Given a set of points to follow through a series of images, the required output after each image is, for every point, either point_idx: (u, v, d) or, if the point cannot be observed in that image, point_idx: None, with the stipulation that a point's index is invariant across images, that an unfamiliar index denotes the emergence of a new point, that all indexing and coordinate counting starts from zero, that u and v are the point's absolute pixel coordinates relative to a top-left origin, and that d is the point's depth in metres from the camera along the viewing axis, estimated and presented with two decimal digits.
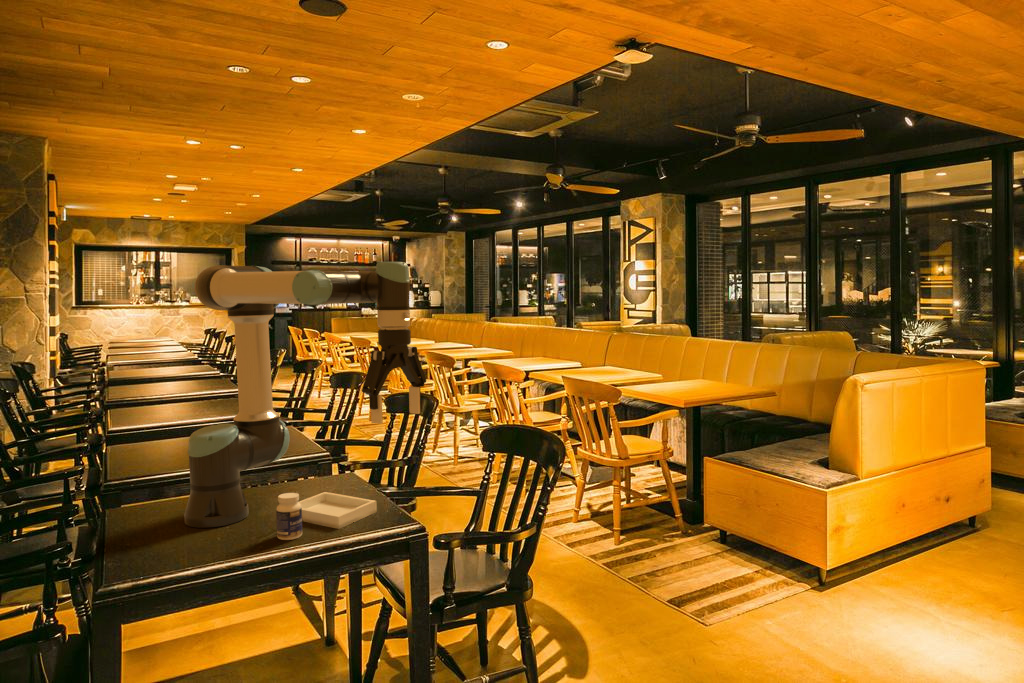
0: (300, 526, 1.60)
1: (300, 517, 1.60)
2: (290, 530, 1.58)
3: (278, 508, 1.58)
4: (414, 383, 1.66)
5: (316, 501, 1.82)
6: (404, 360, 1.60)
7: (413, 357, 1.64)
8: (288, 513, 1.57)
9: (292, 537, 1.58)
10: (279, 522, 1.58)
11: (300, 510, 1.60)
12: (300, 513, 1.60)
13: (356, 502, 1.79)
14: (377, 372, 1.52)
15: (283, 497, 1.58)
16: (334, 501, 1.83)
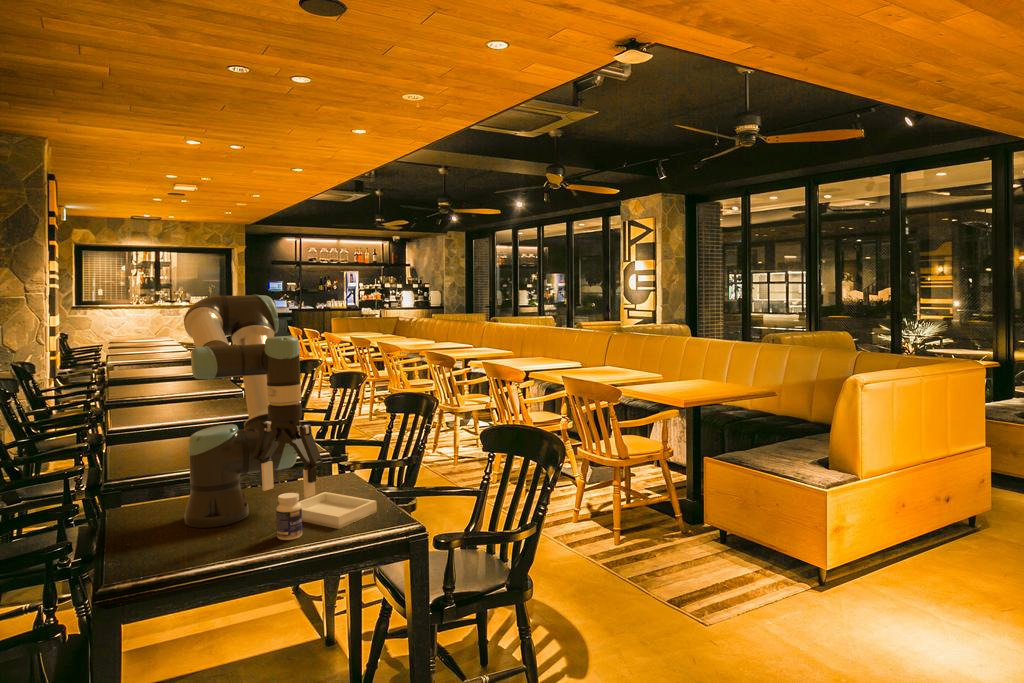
0: (300, 526, 1.60)
1: (300, 517, 1.60)
2: (290, 530, 1.58)
3: (278, 508, 1.58)
4: None
5: (316, 501, 1.82)
6: None
7: None
8: (288, 513, 1.57)
9: (292, 537, 1.58)
10: (279, 522, 1.58)
11: (300, 510, 1.60)
12: (300, 513, 1.60)
13: (356, 502, 1.79)
14: (259, 441, 1.61)
15: (283, 497, 1.58)
16: (334, 501, 1.83)
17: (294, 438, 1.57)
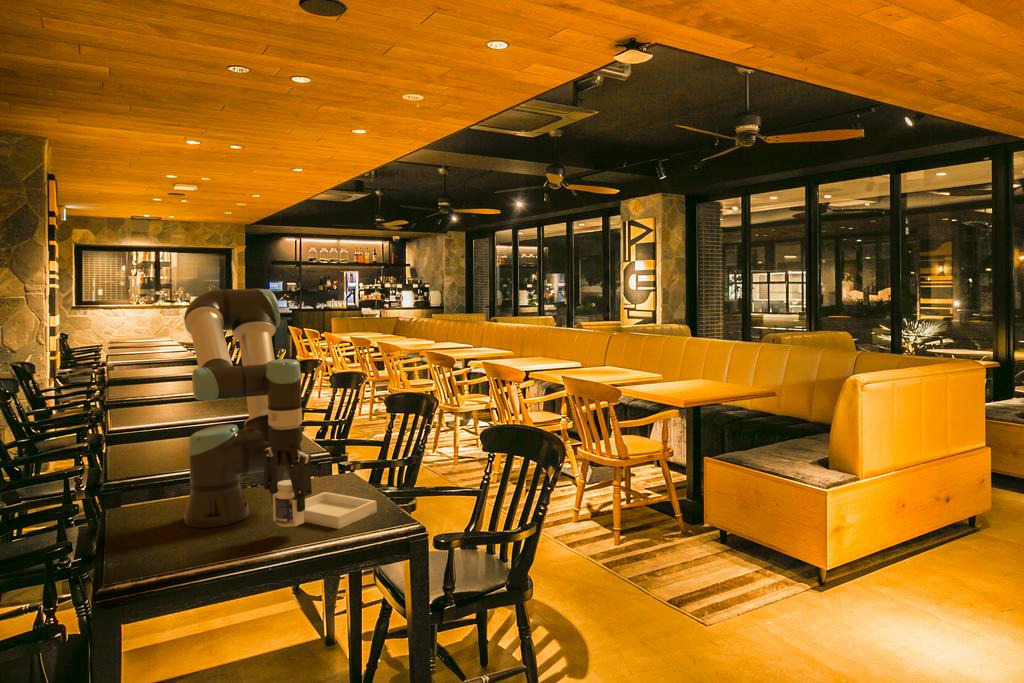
0: None
1: None
2: (289, 517, 1.58)
3: (277, 495, 1.58)
4: None
5: (316, 501, 1.82)
6: None
7: None
8: (287, 500, 1.58)
9: (291, 524, 1.59)
10: (278, 509, 1.58)
11: None
12: None
13: (356, 502, 1.79)
14: (265, 469, 1.61)
15: (283, 484, 1.59)
16: (334, 501, 1.83)
17: None
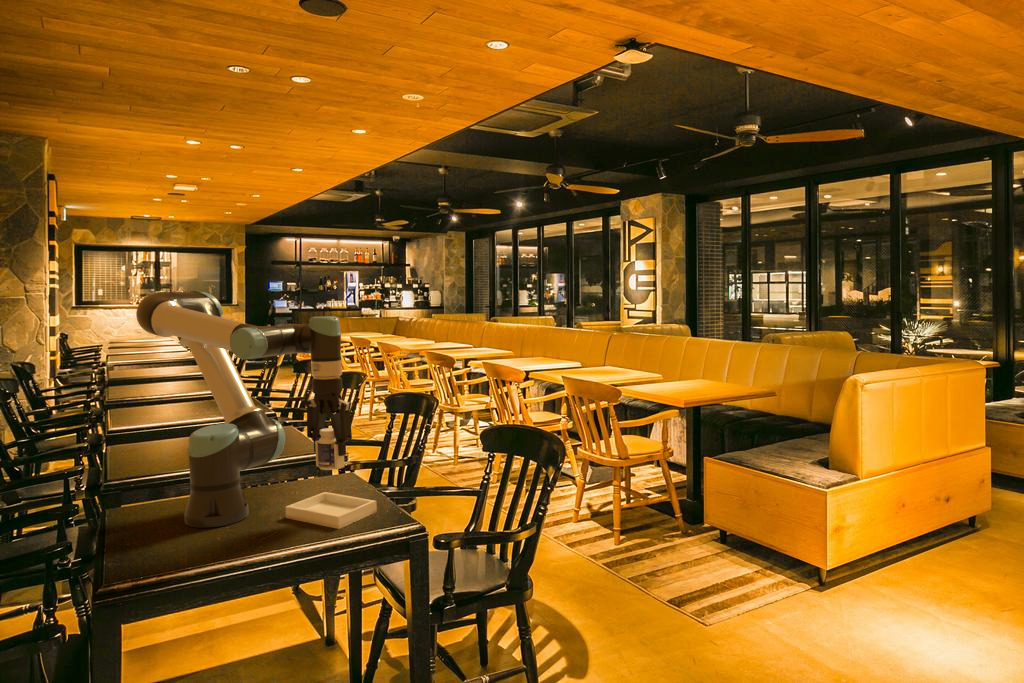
0: None
1: None
2: (331, 460, 1.72)
3: (320, 441, 1.72)
4: None
5: (316, 501, 1.82)
6: None
7: None
8: (329, 445, 1.71)
9: (333, 467, 1.72)
10: (321, 453, 1.72)
11: None
12: None
13: (356, 502, 1.79)
14: (308, 418, 1.75)
15: (325, 430, 1.72)
16: (334, 501, 1.83)
17: None
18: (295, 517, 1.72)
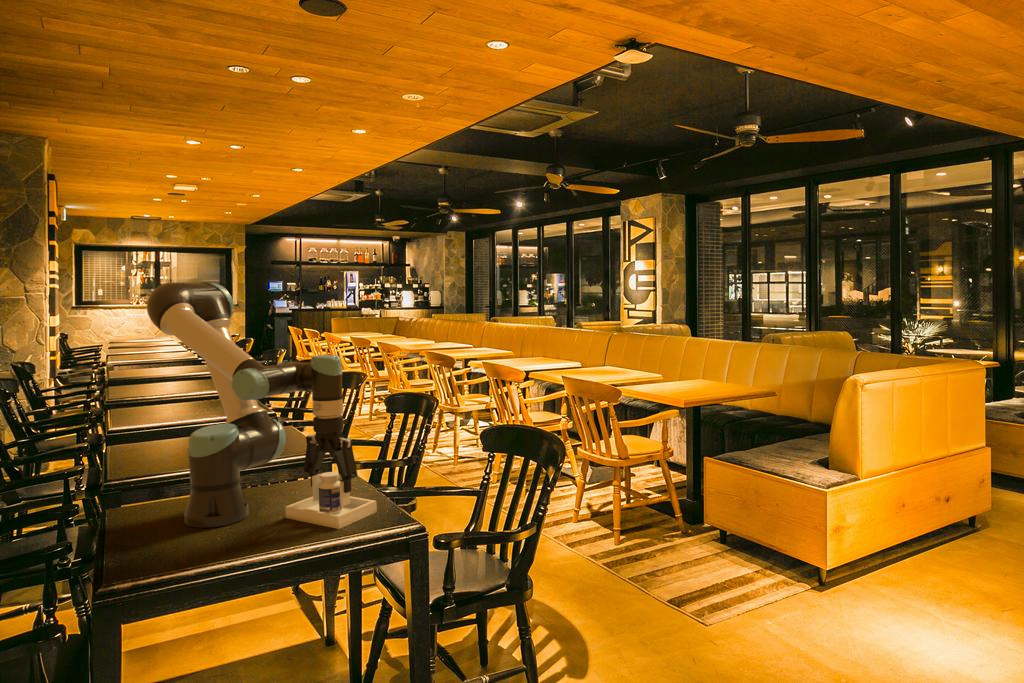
0: None
1: None
2: (332, 505, 1.73)
3: (320, 485, 1.73)
4: None
5: (316, 501, 1.82)
6: None
7: None
8: (330, 490, 1.72)
9: (333, 512, 1.73)
10: (321, 498, 1.73)
11: None
12: None
13: (356, 502, 1.79)
14: (307, 454, 1.76)
15: (325, 475, 1.73)
16: None
17: None
18: (295, 517, 1.72)
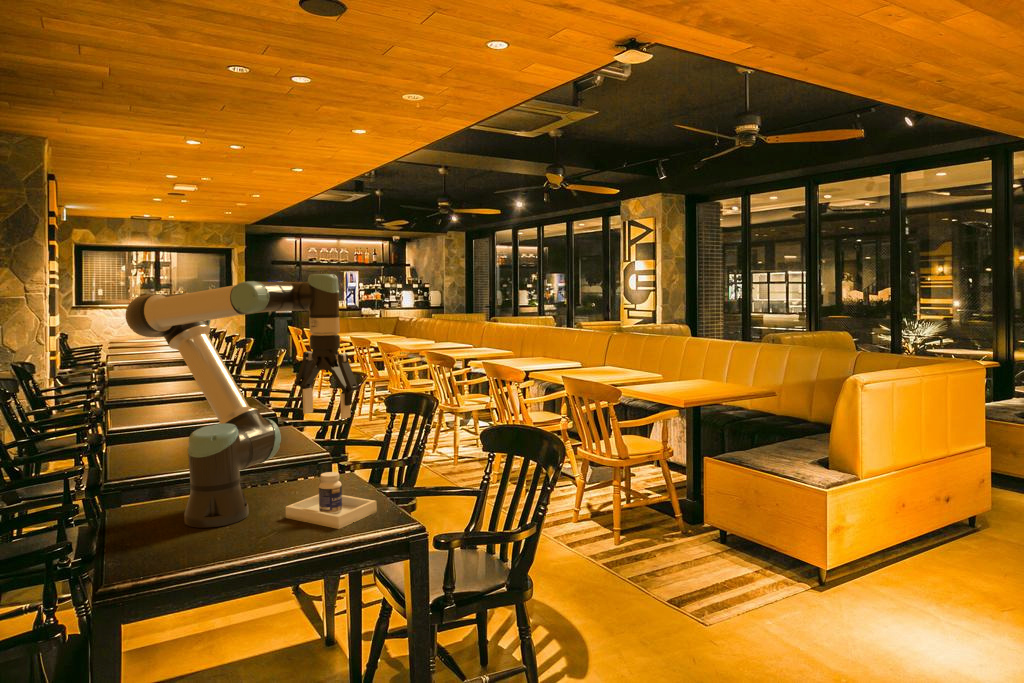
0: (340, 502, 1.75)
1: (340, 494, 1.75)
2: (332, 505, 1.73)
3: (321, 485, 1.73)
4: None
5: (316, 501, 1.82)
6: None
7: None
8: (330, 490, 1.72)
9: (333, 512, 1.73)
10: (322, 498, 1.73)
11: (340, 487, 1.75)
12: (340, 490, 1.75)
13: (356, 502, 1.79)
14: (301, 369, 1.79)
15: (325, 475, 1.73)
16: None
17: (333, 366, 1.74)
18: (295, 517, 1.72)
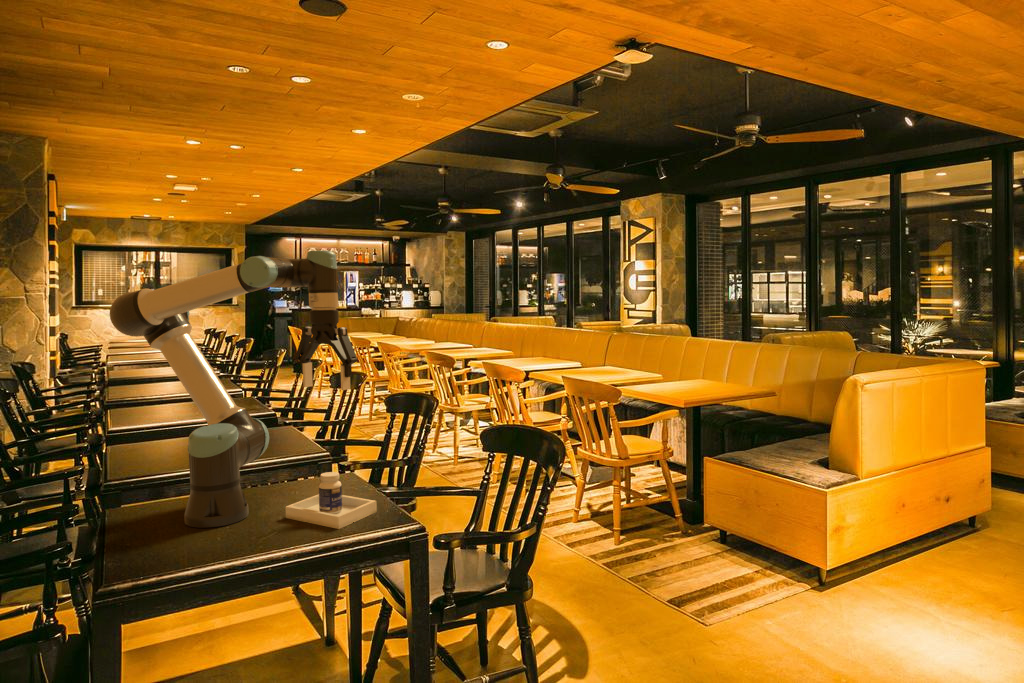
0: (340, 502, 1.75)
1: (340, 494, 1.75)
2: (332, 505, 1.73)
3: (321, 485, 1.73)
4: None
5: (316, 501, 1.82)
6: None
7: None
8: (330, 490, 1.72)
9: (333, 512, 1.73)
10: (322, 498, 1.73)
11: (340, 487, 1.75)
12: (340, 490, 1.75)
13: (356, 502, 1.79)
14: (301, 344, 1.84)
15: (325, 475, 1.73)
16: None
17: (332, 339, 1.80)
18: (295, 517, 1.72)
